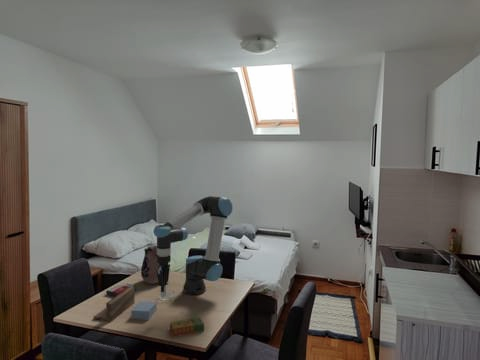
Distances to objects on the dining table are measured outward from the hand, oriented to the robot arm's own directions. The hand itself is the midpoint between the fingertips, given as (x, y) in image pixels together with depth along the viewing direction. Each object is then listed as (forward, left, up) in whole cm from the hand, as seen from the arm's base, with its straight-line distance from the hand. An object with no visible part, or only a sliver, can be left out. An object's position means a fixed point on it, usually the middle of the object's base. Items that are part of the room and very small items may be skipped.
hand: (163, 296), depth 183 cm
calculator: (+42, -25, -12) cm, 50 cm away
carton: (-18, +11, -12) cm, 24 cm away
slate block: (+12, 0, -12) cm, 17 cm away
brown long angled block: (+30, 0, -11) cm, 32 cm away
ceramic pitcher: (+29, -49, -12) cm, 58 cm away
